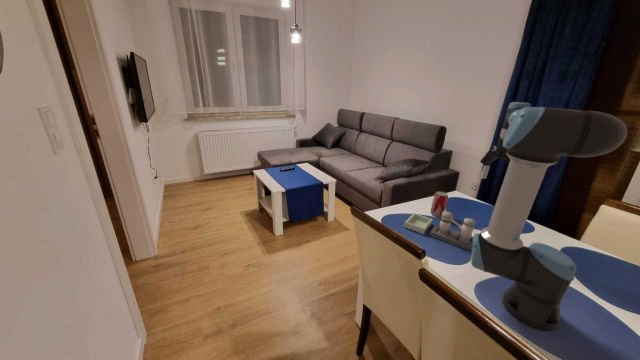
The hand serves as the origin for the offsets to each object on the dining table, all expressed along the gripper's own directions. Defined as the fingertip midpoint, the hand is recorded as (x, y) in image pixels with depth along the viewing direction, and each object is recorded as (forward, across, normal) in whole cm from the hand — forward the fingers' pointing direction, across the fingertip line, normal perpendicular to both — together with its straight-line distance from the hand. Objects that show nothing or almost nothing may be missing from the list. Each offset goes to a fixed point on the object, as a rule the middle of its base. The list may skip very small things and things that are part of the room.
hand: (495, 183), depth 121 cm
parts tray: (+27, +12, +28) cm, 41 cm away
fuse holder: (+27, -2, +18) cm, 32 cm away
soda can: (+27, +20, +10) cm, 35 cm away
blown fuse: (+27, +2, +21) cm, 34 cm away
